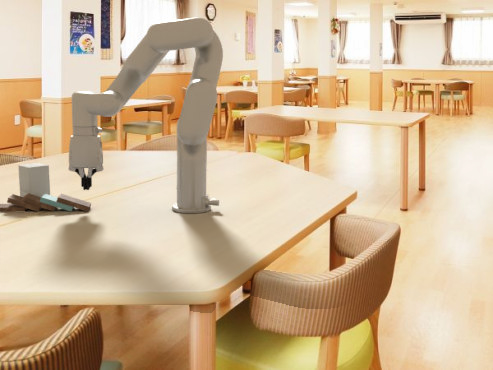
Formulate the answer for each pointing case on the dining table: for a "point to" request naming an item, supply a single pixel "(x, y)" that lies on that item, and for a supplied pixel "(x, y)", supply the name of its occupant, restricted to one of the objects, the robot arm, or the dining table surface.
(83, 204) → the domino
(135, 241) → the dining table surface
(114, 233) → the dining table surface
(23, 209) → the domino
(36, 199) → the domino
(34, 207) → the domino
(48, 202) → the domino
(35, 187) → the supplement box
